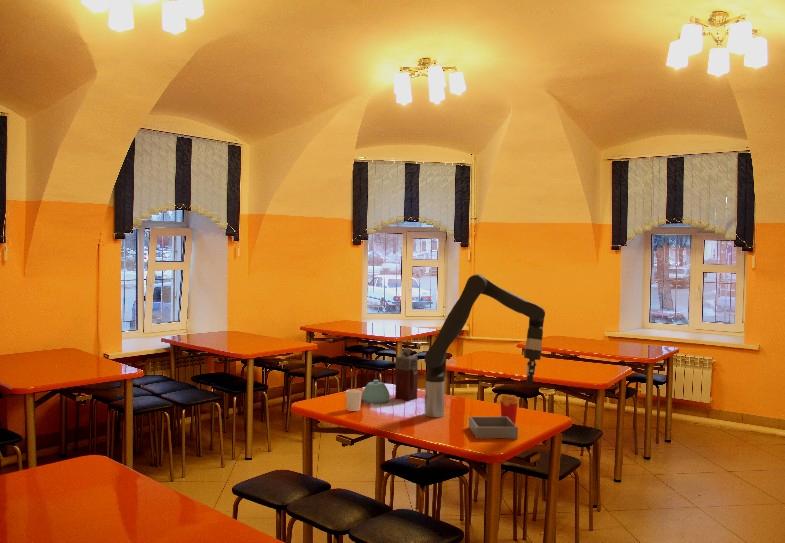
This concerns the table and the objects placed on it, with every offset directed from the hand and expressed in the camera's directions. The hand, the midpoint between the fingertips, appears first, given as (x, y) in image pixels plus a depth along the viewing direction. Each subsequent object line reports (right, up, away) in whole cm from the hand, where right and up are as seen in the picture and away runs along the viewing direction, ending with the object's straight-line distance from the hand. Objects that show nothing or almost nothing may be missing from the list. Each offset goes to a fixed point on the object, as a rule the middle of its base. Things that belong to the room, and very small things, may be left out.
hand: (529, 384), depth 286 cm
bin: (-19, -20, -9) cm, 29 cm away
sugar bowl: (-72, -18, +48) cm, 89 cm away
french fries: (-8, -20, +10) cm, 24 cm away
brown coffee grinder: (-55, -18, +55) cm, 79 cm away
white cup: (-83, -19, +28) cm, 89 cm away
